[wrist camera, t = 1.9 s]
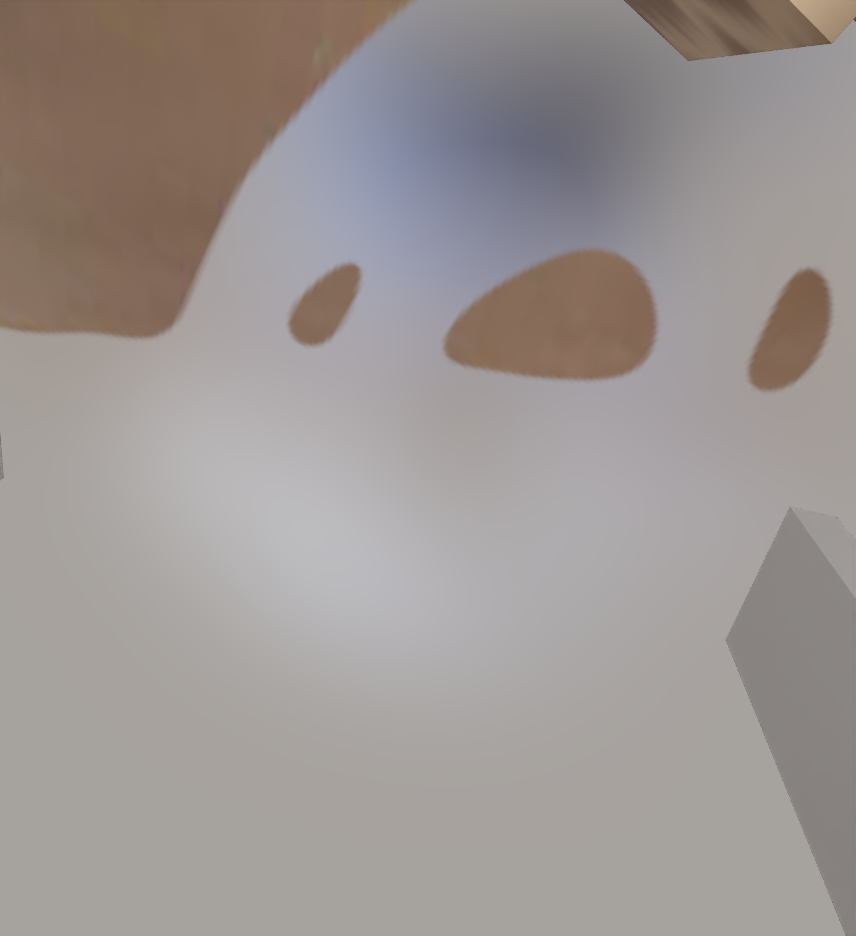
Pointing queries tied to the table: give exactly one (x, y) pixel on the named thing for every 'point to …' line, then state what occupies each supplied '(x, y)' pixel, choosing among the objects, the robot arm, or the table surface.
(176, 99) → the table surface
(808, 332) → the table surface
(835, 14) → the step
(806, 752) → the robot arm
